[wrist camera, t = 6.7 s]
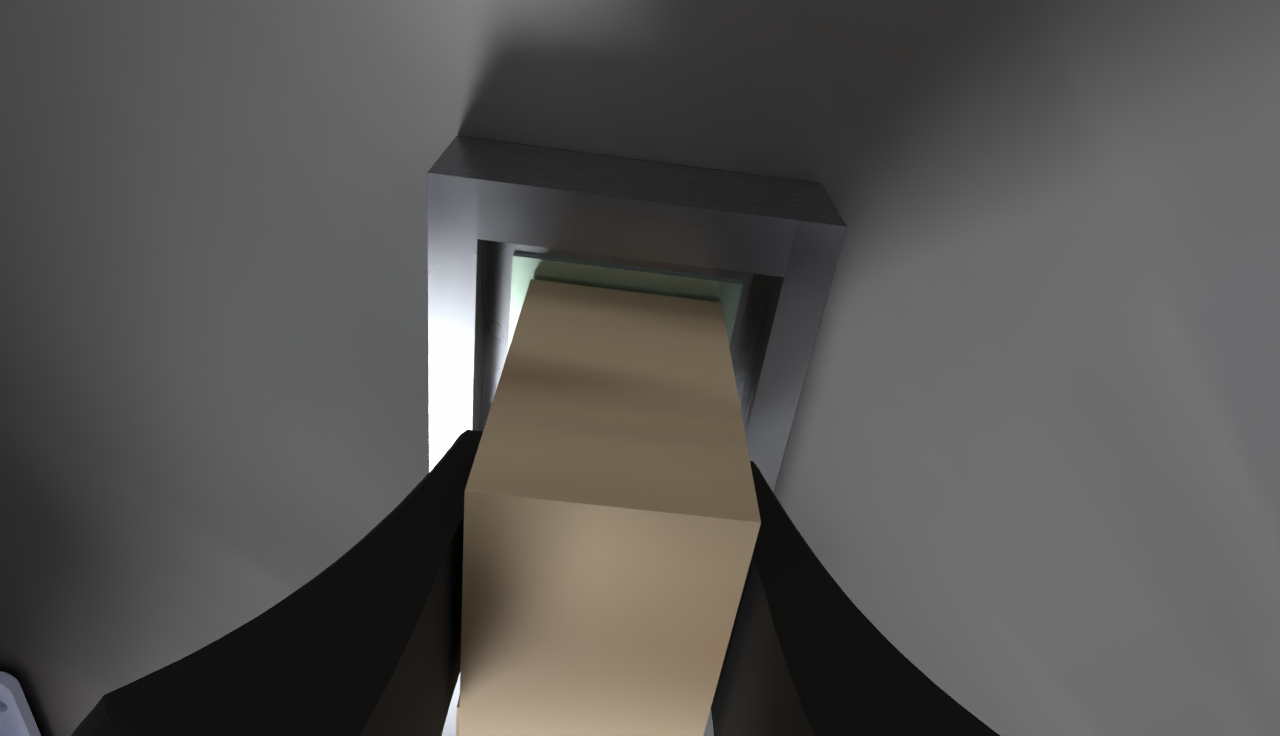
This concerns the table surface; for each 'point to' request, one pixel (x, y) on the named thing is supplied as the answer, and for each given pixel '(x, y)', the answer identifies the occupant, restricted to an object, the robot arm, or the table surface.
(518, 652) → the tan wooden block
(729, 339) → the grey rectangular tray
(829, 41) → the table surface
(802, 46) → the table surface
